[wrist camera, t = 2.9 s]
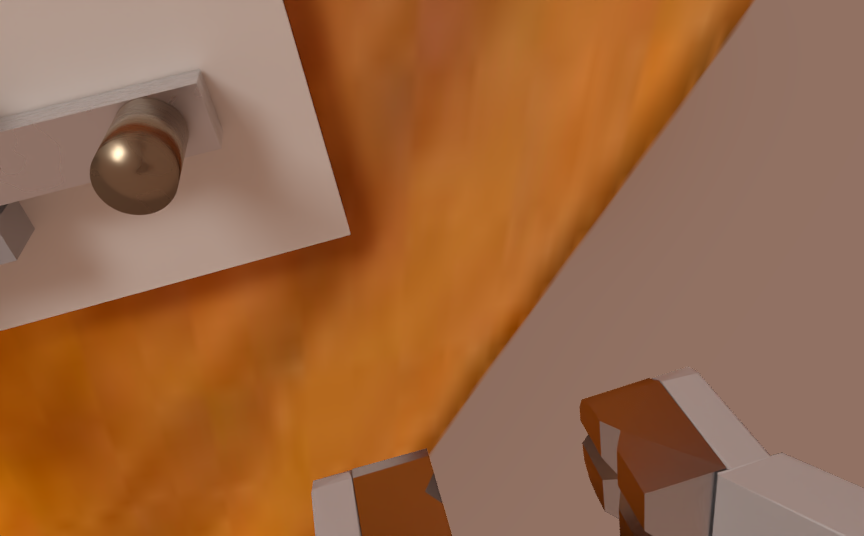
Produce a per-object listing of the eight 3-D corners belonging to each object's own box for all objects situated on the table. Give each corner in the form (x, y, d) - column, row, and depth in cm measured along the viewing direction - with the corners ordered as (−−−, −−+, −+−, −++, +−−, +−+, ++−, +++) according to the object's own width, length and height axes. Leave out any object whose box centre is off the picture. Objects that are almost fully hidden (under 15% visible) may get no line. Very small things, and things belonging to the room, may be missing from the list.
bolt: (199, 68, 24) (187, 123, 19) (223, 131, 25) (216, 196, 21) (-88, 140, 23) (-177, 215, 18) (-48, 200, 24) (-121, 285, 20)
